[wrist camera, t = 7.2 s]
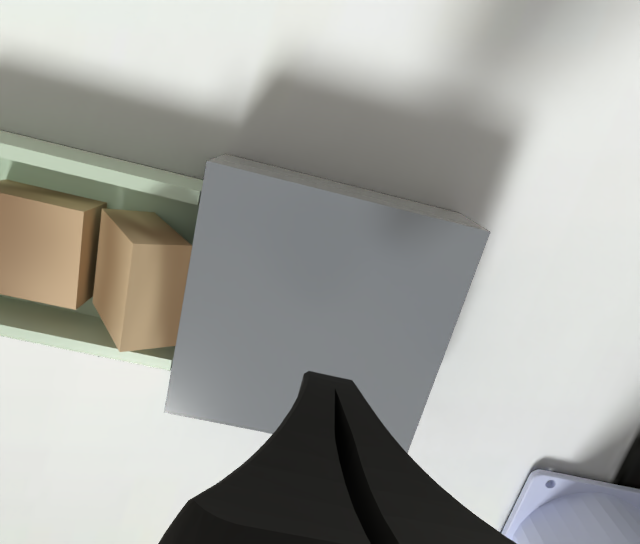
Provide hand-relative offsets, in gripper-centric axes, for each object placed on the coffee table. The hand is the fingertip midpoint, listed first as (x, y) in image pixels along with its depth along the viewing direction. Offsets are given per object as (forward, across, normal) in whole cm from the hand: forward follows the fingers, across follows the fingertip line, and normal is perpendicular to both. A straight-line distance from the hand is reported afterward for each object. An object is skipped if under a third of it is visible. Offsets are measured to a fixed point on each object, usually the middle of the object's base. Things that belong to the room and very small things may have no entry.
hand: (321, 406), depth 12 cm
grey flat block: (+8, 0, 0) cm, 8 cm away
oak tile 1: (+6, +6, 0) cm, 9 cm away
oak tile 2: (+6, +11, 0) cm, 13 cm away
